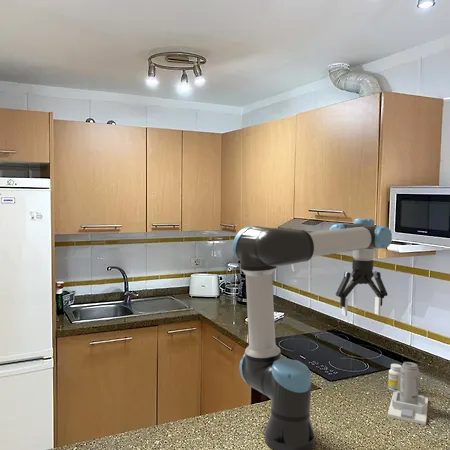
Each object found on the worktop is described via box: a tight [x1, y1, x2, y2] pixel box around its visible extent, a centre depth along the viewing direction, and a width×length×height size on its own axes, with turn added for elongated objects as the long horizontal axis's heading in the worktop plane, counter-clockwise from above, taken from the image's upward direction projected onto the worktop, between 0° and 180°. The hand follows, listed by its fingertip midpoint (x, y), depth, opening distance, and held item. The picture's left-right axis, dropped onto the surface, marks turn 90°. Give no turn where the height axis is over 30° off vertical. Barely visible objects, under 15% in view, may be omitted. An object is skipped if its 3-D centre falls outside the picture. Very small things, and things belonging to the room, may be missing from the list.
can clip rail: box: [387, 391, 429, 426], centre depth 158 cm, size 21×12×4 cm, turn 154°
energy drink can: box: [400, 361, 420, 405], centre depth 158 cm, size 6×6×15 cm
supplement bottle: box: [387, 363, 402, 392], centre depth 175 cm, size 5×5×10 cm
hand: (361, 314), depth 168 cm, fingers open, 13 cm apart
